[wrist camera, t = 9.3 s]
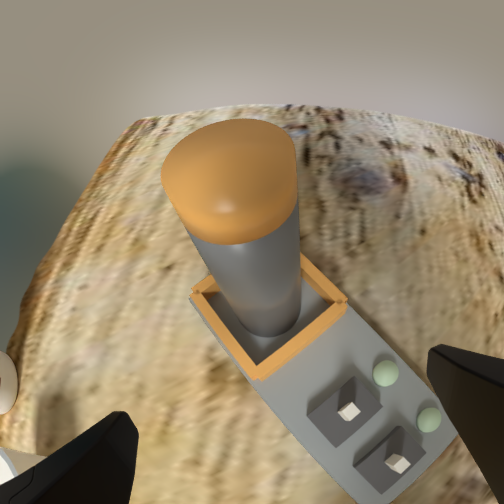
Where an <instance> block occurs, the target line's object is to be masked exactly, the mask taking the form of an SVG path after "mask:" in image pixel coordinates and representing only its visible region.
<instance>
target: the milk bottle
mask: <svg viewBox="0 0 504 504" xmlns="http://www.w3.org/2000/svg"><path fill="white" fill-rule="evenodd" d="M17 389H18V379H17V372H16V368H15V365H14V363H13V361H12V359H11V358H10V357H9V356H8V355H7V354H6V353H4V352H2V351H0V414H4V413H7V412H8V411H10V410H11V408H12V407H13V405H14V403H15V400H16V396H17Z"/></svg>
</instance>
